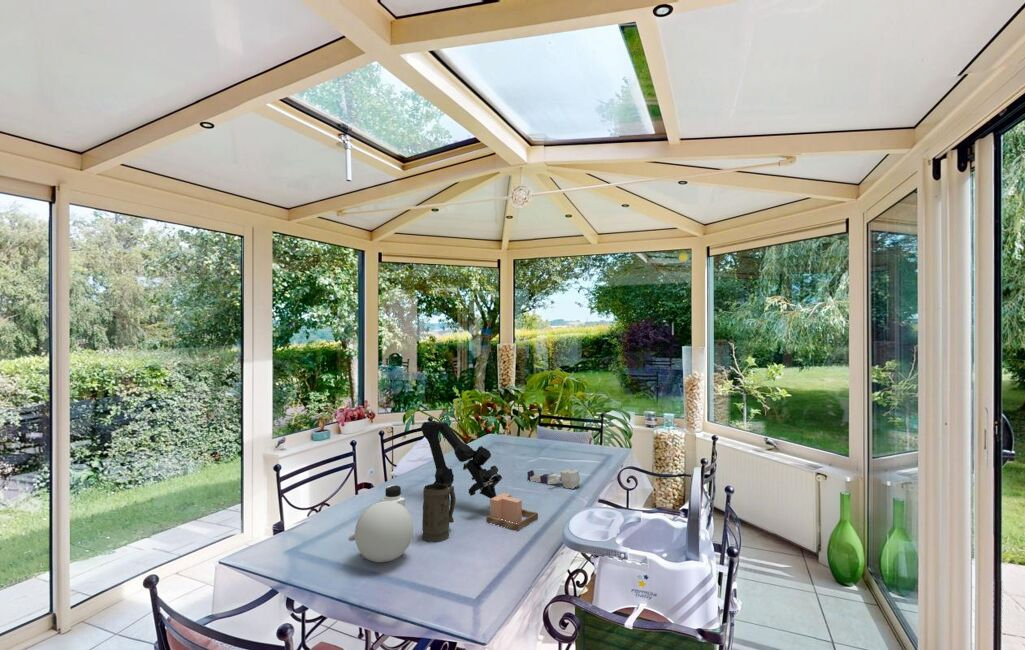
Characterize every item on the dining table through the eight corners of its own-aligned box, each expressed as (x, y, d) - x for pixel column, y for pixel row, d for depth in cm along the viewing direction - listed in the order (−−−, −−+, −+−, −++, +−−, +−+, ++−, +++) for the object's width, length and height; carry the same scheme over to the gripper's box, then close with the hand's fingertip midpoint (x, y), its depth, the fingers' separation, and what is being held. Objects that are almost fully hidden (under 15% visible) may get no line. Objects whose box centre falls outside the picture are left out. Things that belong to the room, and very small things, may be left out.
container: (405, 516, 204) (405, 486, 205) (389, 521, 199) (390, 490, 199) (395, 511, 209) (395, 482, 210) (380, 516, 204) (380, 486, 204)
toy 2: (390, 542, 177) (391, 490, 178) (423, 557, 165) (424, 501, 166) (344, 561, 162) (344, 504, 163) (376, 579, 150) (377, 517, 151)
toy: (538, 465, 268) (585, 466, 252) (539, 481, 267) (587, 483, 251) (519, 473, 251) (568, 475, 234) (520, 490, 249) (570, 493, 233)
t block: (490, 520, 200) (490, 499, 200) (503, 513, 208) (503, 492, 208) (512, 526, 193) (512, 504, 193) (525, 518, 201) (525, 497, 202)
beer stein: (435, 545, 175) (438, 491, 177) (414, 538, 181) (417, 486, 182) (460, 533, 188) (463, 483, 190) (440, 528, 194) (443, 479, 195)
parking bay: (486, 522, 197) (486, 516, 197) (507, 511, 210) (507, 505, 210) (517, 531, 188) (517, 525, 188) (537, 518, 201) (537, 513, 201)
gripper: (473, 465, 200) (494, 495, 194) (498, 456, 216) (518, 484, 209) (459, 480, 204) (479, 511, 198) (485, 471, 220) (504, 498, 213)
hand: (496, 500), depth 204 cm, fingers closed, pressing on t block
